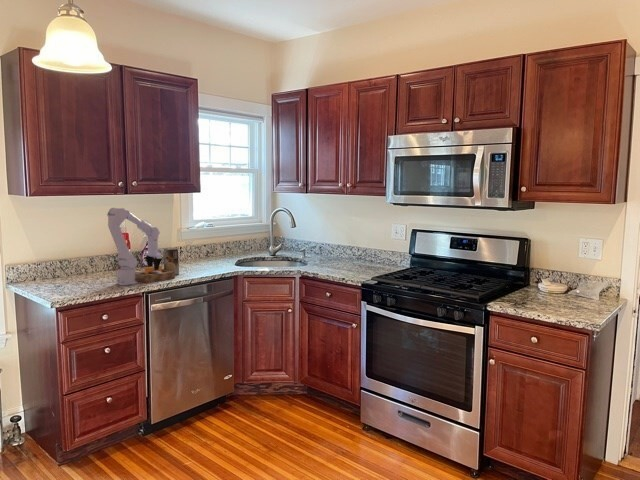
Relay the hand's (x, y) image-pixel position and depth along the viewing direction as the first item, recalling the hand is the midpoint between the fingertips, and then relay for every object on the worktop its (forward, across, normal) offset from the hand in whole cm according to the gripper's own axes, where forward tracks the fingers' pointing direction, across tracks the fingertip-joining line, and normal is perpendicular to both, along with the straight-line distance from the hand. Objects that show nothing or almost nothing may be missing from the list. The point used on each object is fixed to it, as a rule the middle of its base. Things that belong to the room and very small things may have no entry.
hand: (153, 269), depth 285 cm
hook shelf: (+6, 0, 0) cm, 6 cm away
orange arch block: (+4, 0, 0) cm, 5 cm away
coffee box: (+6, +7, -16) cm, 18 cm away
